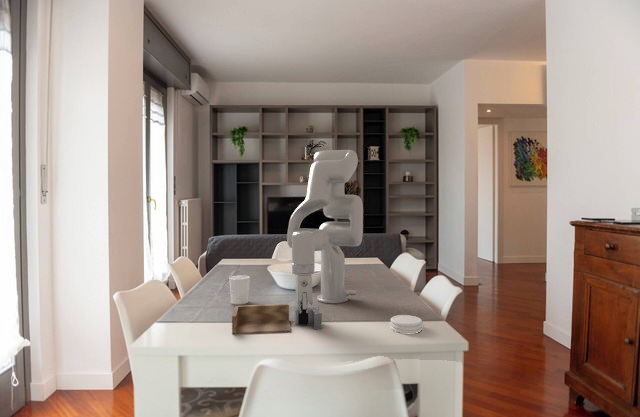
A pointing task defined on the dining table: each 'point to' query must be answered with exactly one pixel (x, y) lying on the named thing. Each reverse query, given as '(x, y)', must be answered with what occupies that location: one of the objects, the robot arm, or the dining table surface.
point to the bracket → (311, 317)
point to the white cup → (239, 289)
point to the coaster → (406, 324)
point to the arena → (260, 319)
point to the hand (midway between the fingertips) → (302, 323)
